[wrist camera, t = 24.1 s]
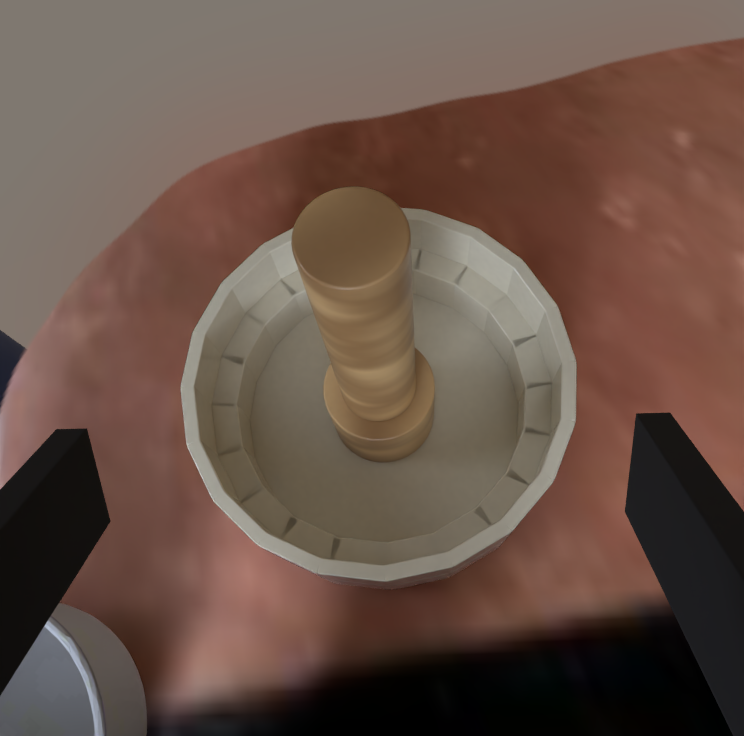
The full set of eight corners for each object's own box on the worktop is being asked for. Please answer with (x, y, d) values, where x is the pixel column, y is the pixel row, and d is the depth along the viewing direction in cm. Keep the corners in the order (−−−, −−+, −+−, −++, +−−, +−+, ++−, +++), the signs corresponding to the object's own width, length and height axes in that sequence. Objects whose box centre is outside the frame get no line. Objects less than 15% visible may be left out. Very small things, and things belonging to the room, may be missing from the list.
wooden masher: (317, 439, 33) (229, 279, 18) (359, 353, 35) (309, 140, 20) (409, 478, 32) (396, 344, 17) (449, 389, 34) (468, 192, 19)
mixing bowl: (161, 500, 33) (108, 473, 28) (310, 231, 38) (290, 162, 33) (477, 652, 30) (489, 656, 24) (596, 336, 35) (629, 279, 29)
